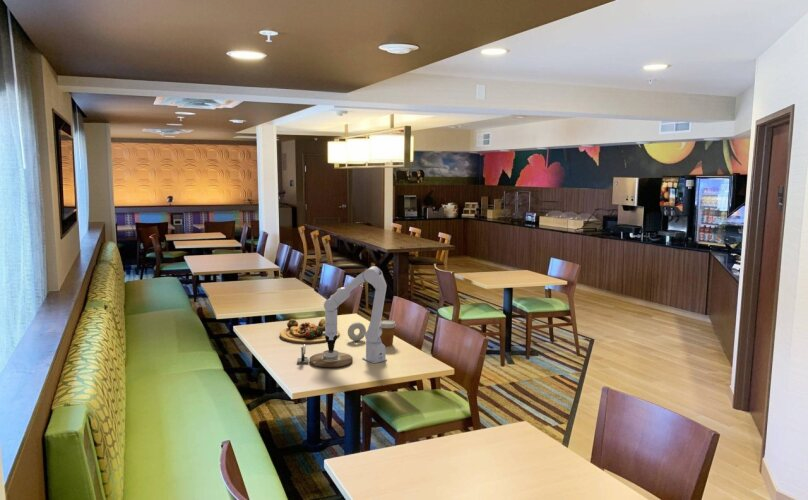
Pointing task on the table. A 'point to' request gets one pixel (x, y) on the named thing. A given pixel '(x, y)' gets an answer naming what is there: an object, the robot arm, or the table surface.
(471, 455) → the table surface
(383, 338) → the disposable coffee cup
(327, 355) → the cover
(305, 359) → the dial gauge
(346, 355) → the turntable
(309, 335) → the wooden plate with food
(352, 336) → the donut
